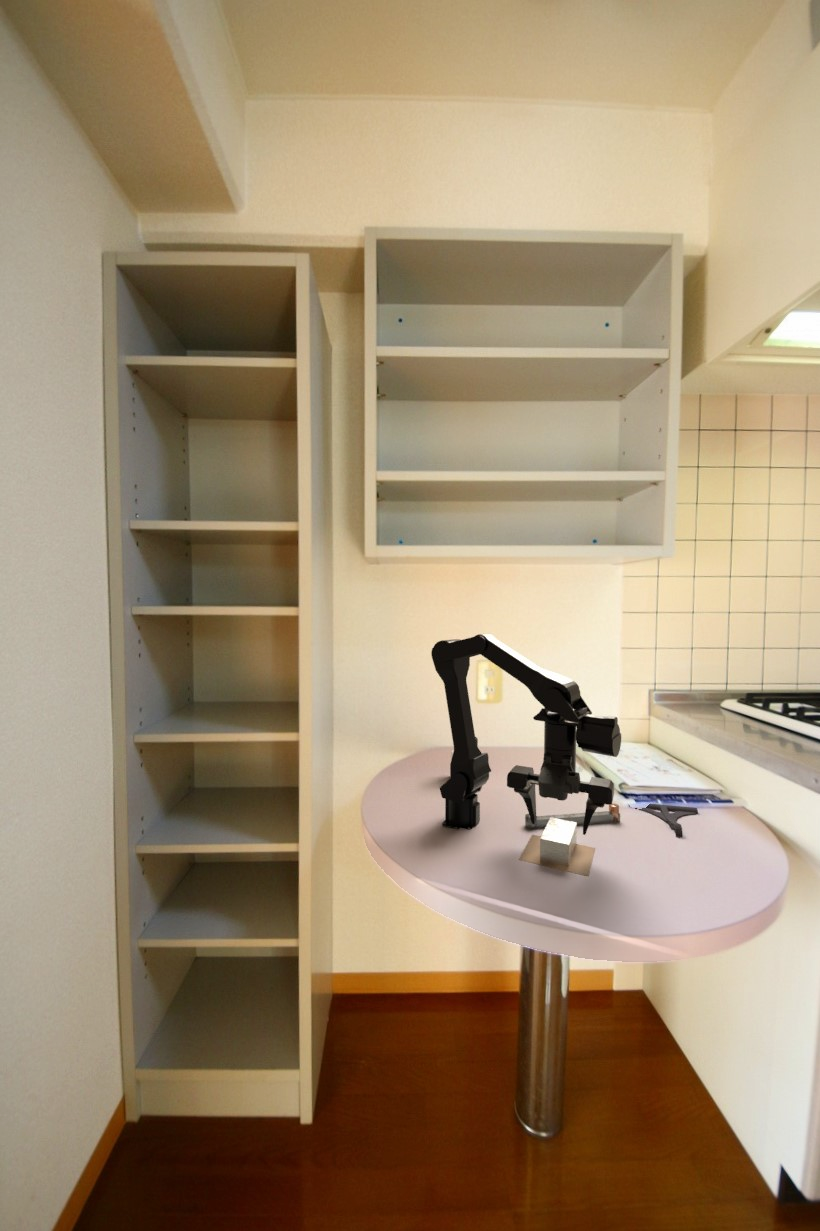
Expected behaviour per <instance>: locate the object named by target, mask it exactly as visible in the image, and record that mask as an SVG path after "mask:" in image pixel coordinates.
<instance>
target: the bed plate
mask: <svg viewBox="0 0 820 1231" xmlns="http://www.w3.org/2000/svg"><path fill="white" fill-rule="evenodd" d="M541 836H542V835H541ZM541 836H540V835H536V834H531V836H530V838H529V840H528V841H527V843H526V845H525V847H524V849H523V850H522V852H521V854H520V856H519V858H518V860H519V861H521V862H522V861H523V862H527V863H530V864H535V865H538V866H543V867H548V868H551V869H556V870H560V871H564V872H567V873H573V874H577V875H581V876H584V877H589V875H590V871H591V868H592V862H593V860H594V857H595V856H594V855H595V851H596V847H592V846H587V845H585V844H584V845H583V844H579V843H576V846H575V849H574V852H573V855H572V858H571V861H570V864H569V867H566V866H562V865H558V864H554V863H549V862H545V861H541V860H540V838H541Z"/></svg>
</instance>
